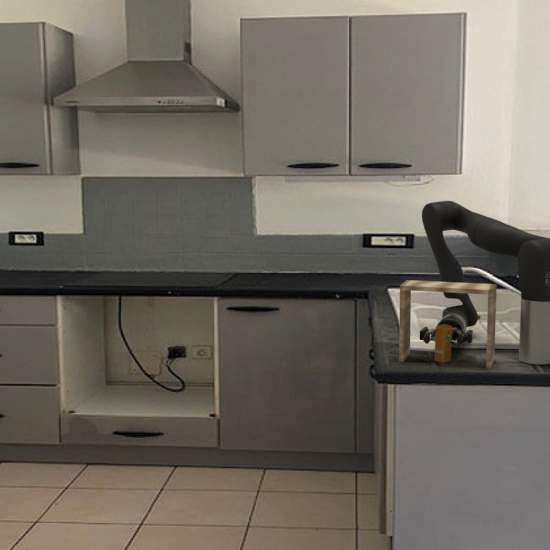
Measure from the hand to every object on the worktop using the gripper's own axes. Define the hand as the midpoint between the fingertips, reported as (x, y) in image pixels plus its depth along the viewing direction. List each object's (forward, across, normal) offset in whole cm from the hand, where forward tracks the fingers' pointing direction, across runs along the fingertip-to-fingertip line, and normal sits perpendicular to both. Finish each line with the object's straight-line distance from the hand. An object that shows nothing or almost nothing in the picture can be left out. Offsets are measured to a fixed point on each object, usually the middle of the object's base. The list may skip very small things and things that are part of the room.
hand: (442, 341), depth 225 cm
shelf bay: (-2, +1, +6) cm, 6 cm away
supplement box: (-2, 0, +6) cm, 6 cm away
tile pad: (-17, -7, +6) cm, 19 cm away
